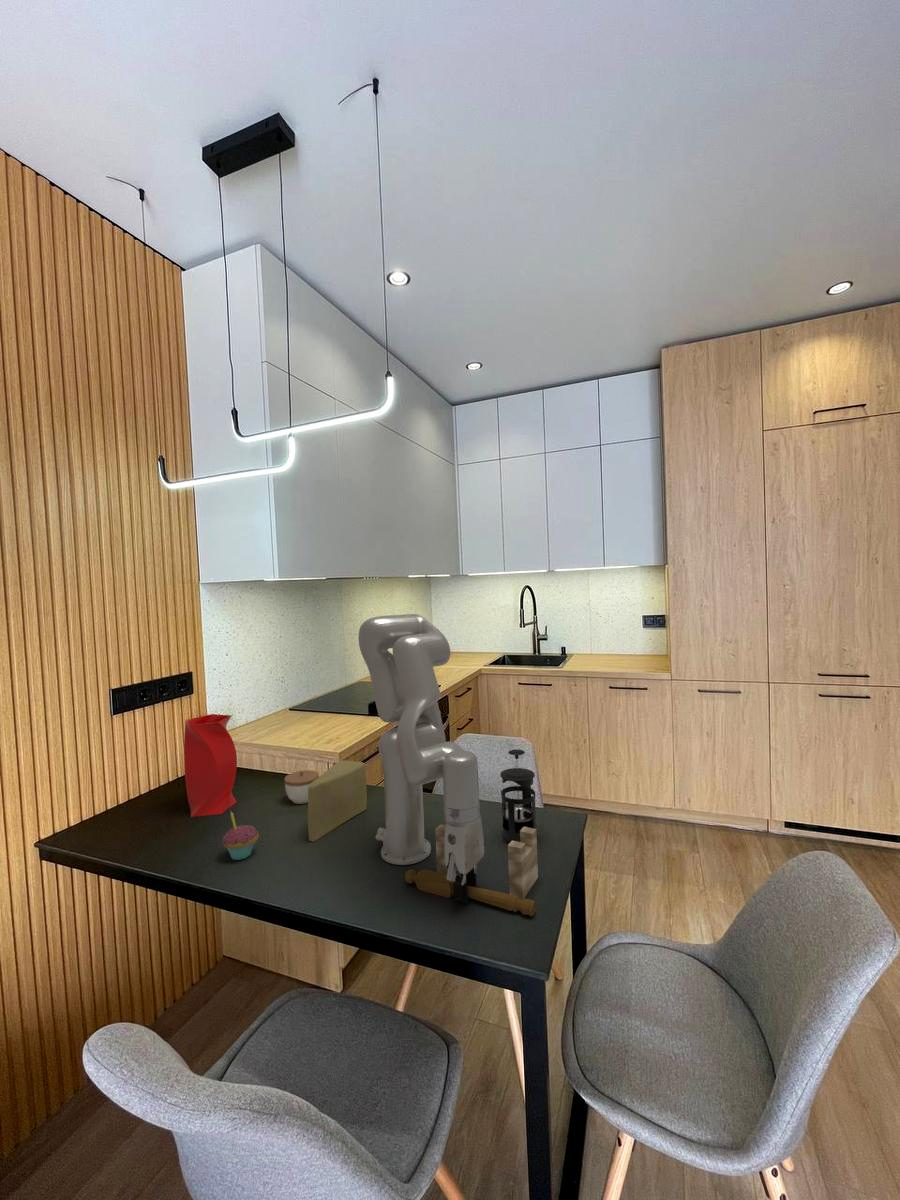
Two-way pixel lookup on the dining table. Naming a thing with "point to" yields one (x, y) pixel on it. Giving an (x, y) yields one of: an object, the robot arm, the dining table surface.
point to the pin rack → (519, 860)
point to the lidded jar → (299, 785)
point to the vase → (209, 764)
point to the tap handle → (443, 887)
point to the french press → (518, 801)
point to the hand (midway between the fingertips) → (465, 895)
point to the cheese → (336, 797)
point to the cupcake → (240, 840)
